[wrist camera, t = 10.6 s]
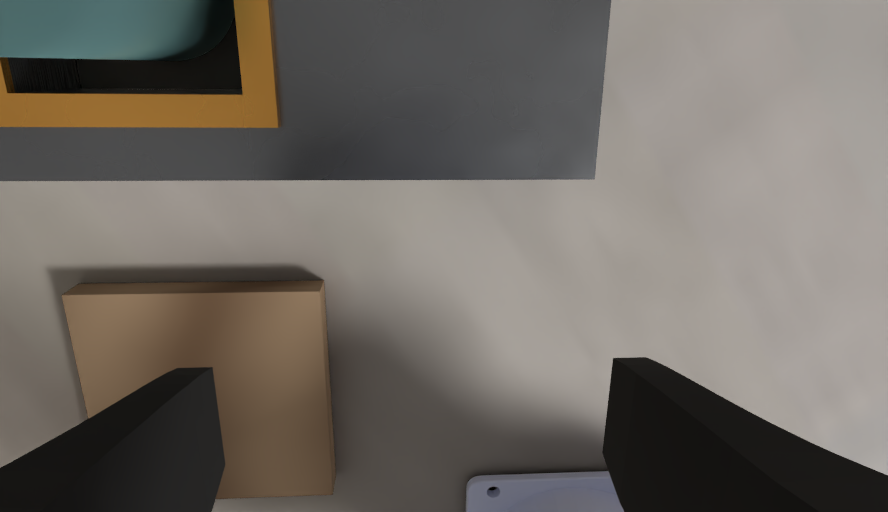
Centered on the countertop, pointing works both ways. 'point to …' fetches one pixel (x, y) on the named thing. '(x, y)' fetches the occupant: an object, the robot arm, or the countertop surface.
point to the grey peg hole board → (336, 99)
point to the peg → (113, 28)
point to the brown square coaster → (222, 368)
